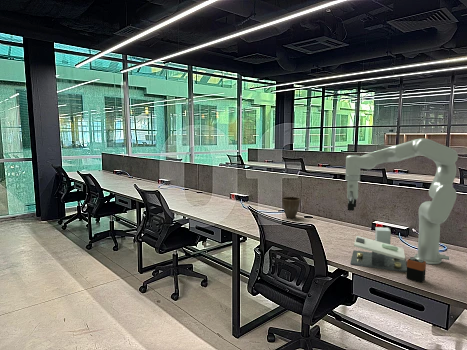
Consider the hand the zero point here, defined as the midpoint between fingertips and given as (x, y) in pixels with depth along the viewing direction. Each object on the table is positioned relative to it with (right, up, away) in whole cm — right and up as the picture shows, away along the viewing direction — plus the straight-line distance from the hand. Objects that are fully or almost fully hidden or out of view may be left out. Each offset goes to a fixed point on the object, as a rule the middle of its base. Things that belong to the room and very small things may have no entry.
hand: (351, 208), depth 177 cm
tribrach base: (+11, -27, -7) cm, 30 cm away
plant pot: (-18, -17, +89) cm, 93 cm away
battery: (+19, -30, -29) cm, 46 cm away
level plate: (+11, -21, -8) cm, 25 cm away
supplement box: (+21, -25, +10) cm, 35 cm away
